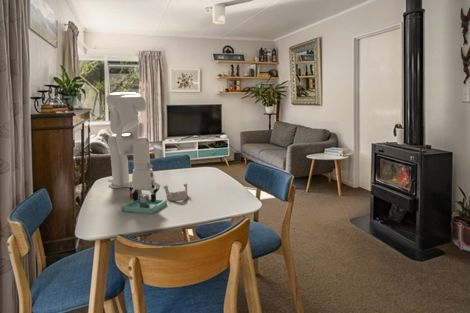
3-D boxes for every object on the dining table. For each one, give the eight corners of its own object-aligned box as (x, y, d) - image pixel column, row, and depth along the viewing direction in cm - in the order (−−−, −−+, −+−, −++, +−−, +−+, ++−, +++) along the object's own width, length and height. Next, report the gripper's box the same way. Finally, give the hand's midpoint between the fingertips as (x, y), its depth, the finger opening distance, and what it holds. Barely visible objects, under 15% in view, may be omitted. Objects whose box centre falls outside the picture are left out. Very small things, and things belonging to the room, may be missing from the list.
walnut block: (129, 199, 173) (129, 190, 173) (133, 196, 178) (132, 187, 178) (139, 199, 173) (138, 190, 172) (142, 196, 178) (141, 187, 177)
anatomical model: (167, 202, 164) (165, 182, 166) (165, 204, 174) (163, 186, 176) (193, 198, 168) (190, 179, 170) (189, 201, 178) (186, 183, 180)
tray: (122, 211, 154) (121, 206, 154) (138, 202, 168) (138, 197, 167) (152, 214, 150) (152, 209, 150) (166, 204, 163) (166, 200, 163)
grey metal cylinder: (138, 207, 157) (137, 196, 156) (143, 204, 161) (142, 194, 160) (146, 208, 156) (145, 197, 155) (151, 205, 160) (150, 194, 159)
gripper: (162, 165, 156) (164, 199, 159) (130, 164, 161) (133, 197, 164) (154, 168, 149) (156, 204, 152) (121, 167, 154) (124, 202, 157)
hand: (144, 201), depth 158 cm, fingers open, 9 cm apart
